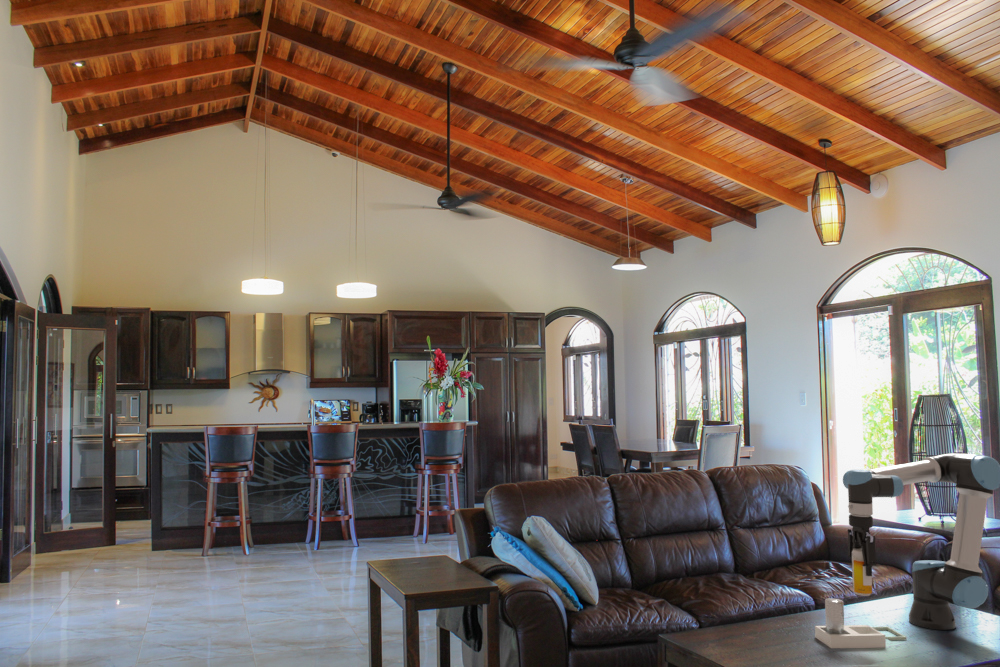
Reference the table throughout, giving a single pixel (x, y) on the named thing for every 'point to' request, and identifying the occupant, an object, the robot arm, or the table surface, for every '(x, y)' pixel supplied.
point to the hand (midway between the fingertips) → (862, 582)
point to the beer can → (859, 574)
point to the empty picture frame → (901, 637)
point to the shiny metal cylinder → (834, 616)
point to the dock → (852, 637)
